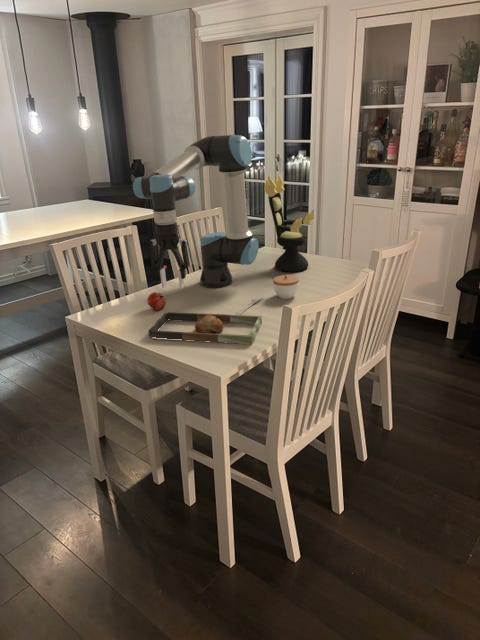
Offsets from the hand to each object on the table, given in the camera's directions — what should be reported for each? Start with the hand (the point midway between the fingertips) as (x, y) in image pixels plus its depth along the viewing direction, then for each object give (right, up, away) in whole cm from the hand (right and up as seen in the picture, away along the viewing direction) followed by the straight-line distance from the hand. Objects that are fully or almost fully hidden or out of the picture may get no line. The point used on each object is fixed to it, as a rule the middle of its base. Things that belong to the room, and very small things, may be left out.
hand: (173, 286), depth 172 cm
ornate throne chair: (+48, +14, +69) cm, 85 cm away
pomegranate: (-10, -8, +27) cm, 30 cm away
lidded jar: (+44, -2, +33) cm, 54 cm away
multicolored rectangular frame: (+12, -16, +4) cm, 20 cm away
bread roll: (+12, -16, +4) cm, 21 cm away
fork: (+28, -7, +24) cm, 38 cm away
